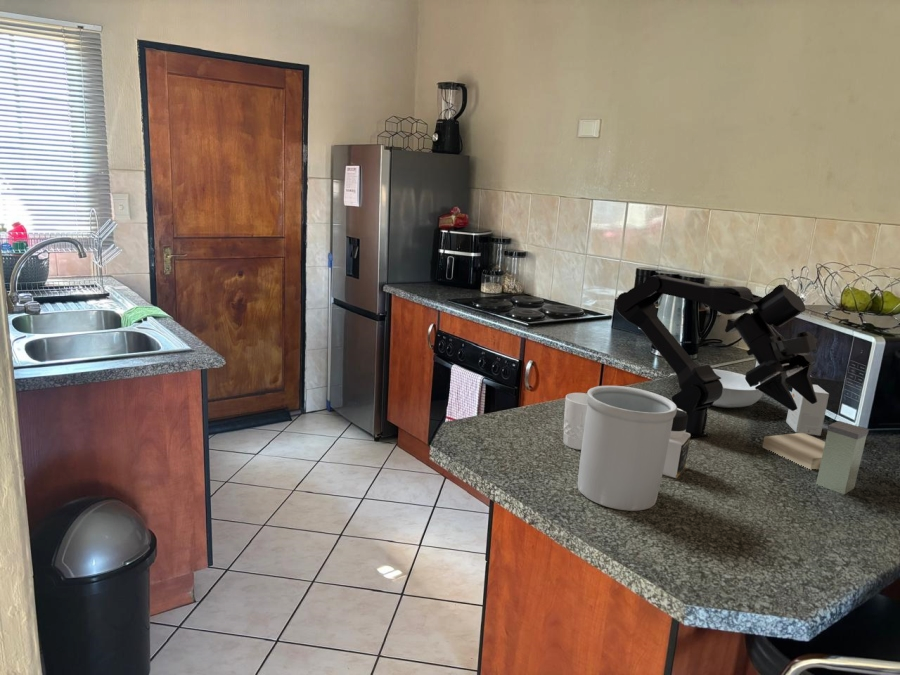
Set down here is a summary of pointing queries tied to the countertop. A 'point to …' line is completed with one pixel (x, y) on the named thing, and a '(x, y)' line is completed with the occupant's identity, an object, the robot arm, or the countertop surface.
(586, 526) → the countertop surface
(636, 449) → the utensil holder
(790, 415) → the small box
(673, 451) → the medicine bottle
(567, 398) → the white cup
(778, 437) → the wooden block
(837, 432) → the tea tin
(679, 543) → the countertop surface
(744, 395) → the serving bowl
